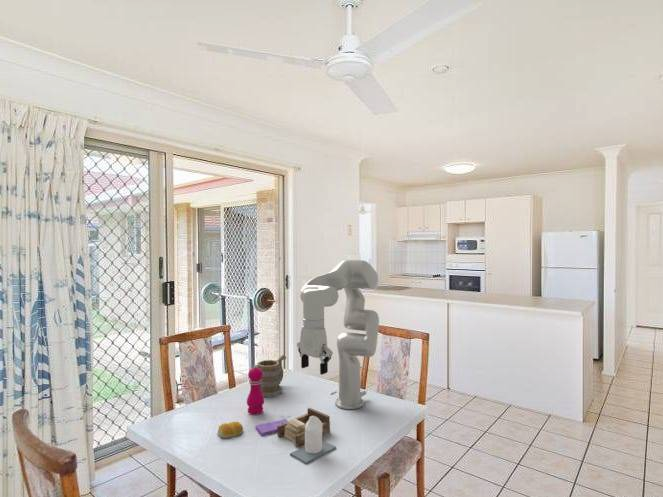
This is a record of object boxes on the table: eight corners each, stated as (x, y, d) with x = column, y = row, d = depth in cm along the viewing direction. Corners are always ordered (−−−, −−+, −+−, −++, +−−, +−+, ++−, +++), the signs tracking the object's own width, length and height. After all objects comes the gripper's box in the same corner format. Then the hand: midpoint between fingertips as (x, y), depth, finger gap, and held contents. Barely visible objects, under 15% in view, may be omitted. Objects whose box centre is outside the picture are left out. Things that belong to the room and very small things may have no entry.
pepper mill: (266, 408, 171) (266, 362, 171) (261, 415, 164) (261, 367, 164) (249, 407, 172) (249, 361, 171) (244, 414, 164) (244, 366, 164)
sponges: (292, 430, 152) (292, 425, 152) (260, 437, 146) (260, 432, 146) (285, 422, 159) (285, 418, 159) (255, 429, 153) (255, 424, 153)
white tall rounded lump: (320, 410, 139) (324, 417, 134) (320, 444, 139) (324, 452, 134) (303, 412, 137) (306, 419, 132) (303, 446, 138) (306, 455, 132)
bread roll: (246, 434, 148) (246, 423, 148) (222, 441, 143) (222, 430, 143) (238, 426, 155) (238, 415, 155) (215, 431, 150) (215, 421, 150)
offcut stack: (293, 432, 149) (293, 417, 149) (307, 439, 144) (307, 424, 144) (284, 436, 146) (284, 421, 146) (297, 444, 141) (297, 428, 141)
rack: (309, 422, 158) (309, 407, 158) (329, 432, 150) (329, 416, 150) (277, 436, 146) (277, 420, 146) (297, 447, 138) (297, 430, 138)
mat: (319, 440, 143) (319, 438, 143) (336, 448, 138) (336, 446, 138) (290, 455, 133) (290, 453, 133) (306, 464, 128) (306, 462, 128)
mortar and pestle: (269, 399, 181) (269, 366, 181) (249, 393, 188) (249, 361, 188) (296, 386, 198) (296, 356, 198) (277, 381, 205) (277, 352, 205)
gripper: (290, 321, 146) (290, 367, 146) (323, 329, 134) (324, 379, 135) (304, 318, 151) (305, 362, 152) (338, 325, 139) (339, 373, 140)
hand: (314, 370), depth 143 cm, fingers open, 9 cm apart
